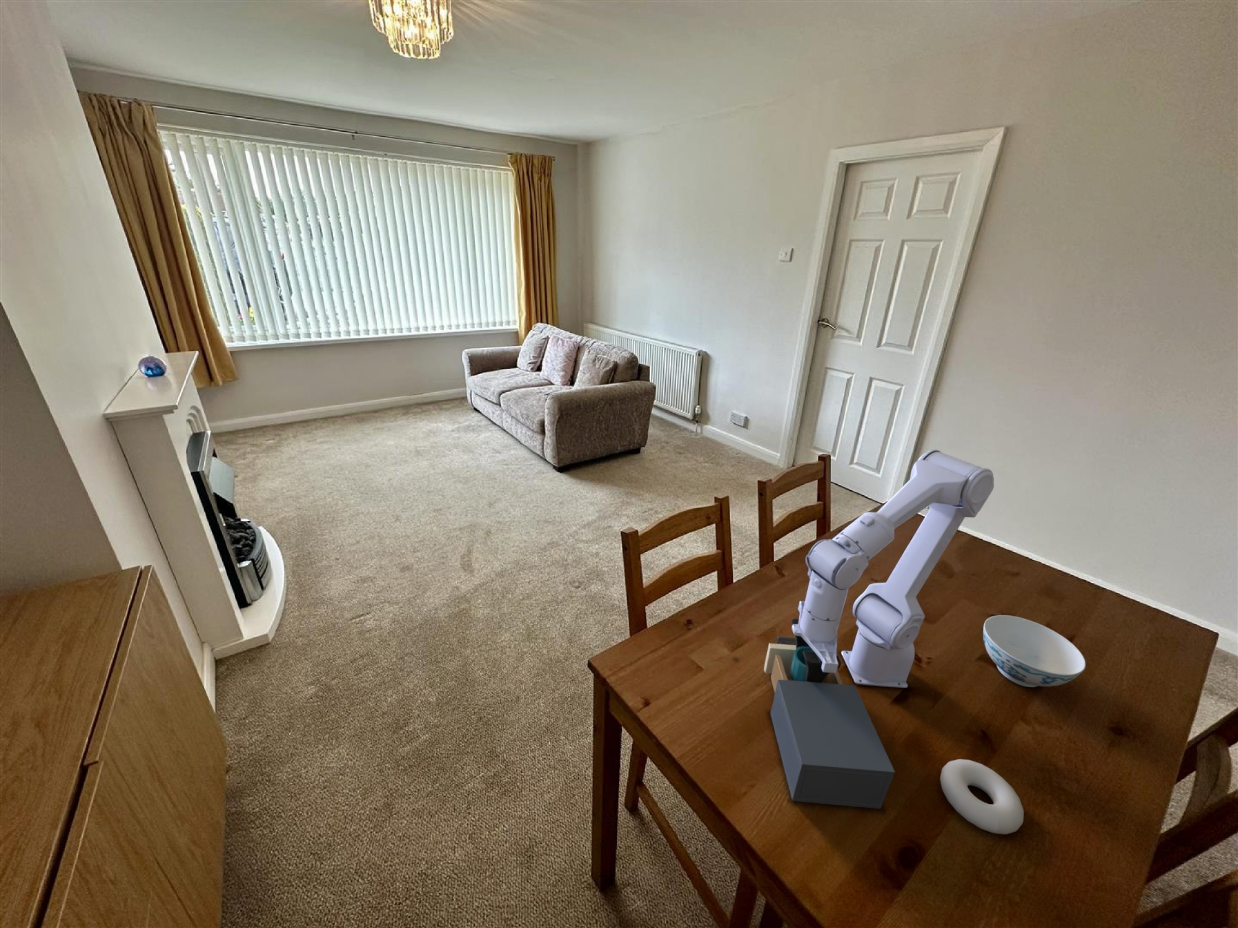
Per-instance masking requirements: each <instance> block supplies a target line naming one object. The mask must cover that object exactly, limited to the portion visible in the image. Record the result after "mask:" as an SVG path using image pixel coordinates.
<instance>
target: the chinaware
mask: <svg viewBox="0 0 1238 928" xmlns="http://www.w3.org/2000/svg"><path fill="white" fill-rule="evenodd" d="M982 638H983V639H982V640H983V644H984V647H985V649H986V652H987V654H988V655H989V657H990V659H991V660H992V662H993V663H994V664H995V665H996V668H997V669H998V671H999V672H1000V673H1001V674H1002V675H1003V676H1004V677H1005V678H1007V679H1008V680H1009V681H1011V682H1012V683H1015V684H1017V685H1020V686H1023V687H1028V688H1036V687H1056V686H1062V685H1064V684H1067V683H1069V682H1071V681H1073V680H1075V679H1076V678H1077V677H1079V676H1080V675H1081V674H1082V673H1083V672H1084V671H1085V669H1086V666H1087V665H1086V663H1087V662H1086V659H1085V657H1084V655H1083V654H1082V653H1081V651H1080V649H1078V648H1077V647H1076V646H1075V645H1074V644H1073V643H1072V642H1071V641H1070V640H1068V639H1067V638H1066V637H1065V636H1063V635H1061V634H1059V633H1058V632H1056V631H1055V630H1053V629H1051V628H1049V627H1047V626H1045V625H1043V624H1040V623H1038V622H1036V621H1032V620H1030V619H1027V618H1024V617H1019V616H1016V615H1015V616H1014V615H1008V614H1007V615H1005V614H1003V615H1002V614H999V615H993V616H990V617H988V618H987V619H986V620H985V621H984V624H983V630H982Z"/></svg>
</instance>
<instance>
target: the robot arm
mask: <svg viewBox="0 0 1238 928" xmlns="http://www.w3.org/2000/svg"><path fill="white" fill-rule="evenodd" d="M909 476H910V477H909V480H908V481H907V482H906V483H905V484H904V485H902V486H901V488H900V489H899V490H898V491H896V493H894V495H893V496H892V497H891V498H889V499H888V501H886V502H885V503H884V505H882V506H881V507H880V508H879V510H878V511H876V512H875V511H865V512H864V513H862V514H861V515H860V516H858V518H856V519H855V520H854V521H853V522H851V523H850V524H849V525H848V526H846V527H845V528H844V529H843V530H842V531H840V532H839V533H838V534H837V535H836V536H834V537H833V538H831V539H829V538H828V539H821V540H819V541H816V542H815V544H814V545H813V546H812V547H811V548H810V550H809V551H808V554H807V555H806V556H805V564H806V566H807V568H808V571H807V576H808V579H809V583H808V587H807V591H806V594H805V600H803V601H802V600H799V603H798V607H797V611H798V612H799V616H798V617H799V618H792V620H791V622H790V623H791V631H792V632H793V635H794V638H795V639H796V649H797V648H798V647H801V646H809V647H811V648H812V650H813V651H814V652H811V651H803V655H804V658H805V661H806V676H805V680H806V682H817V683H822V682H823V680H824V679H825V678H826V677H827V675H828V674H830V673H836V671H838V669H840V668H841V666H842V661H841V659H840V657H839V655H837V650H838V630H839V626H840V622H841V618H842V615H843V611H844V607H845V603H846V600H847V597H848V593H849V589H850V588H851V587H852V586H854V585H855V584H856V583H857V582H858V581H859V580H860V579H861V577H862V575H863V573H864V571H865V570H867V568H868V566H870V564H869V561H870V560H871V559H873V558H874V557H875V556H876V555H878V554H879V553H880V552H881V551H882V550H884V549H885V548H886V547H887V546H888V545H889V544H890V543H892V542H894V540H895V530H896V529H897V528H899V527H900V526H901V525H903V524H904V523H906V522H907V521H908V520H910V519H912V517H915V516H916V515H917V514H919V513H920V512H922V511H923V510H925V509H926V508H927V507H929V510H928V511H927V514H926V515H925V517H924V518H923V520H922V521H921V523H920V525H919V526H918V528H917V530H916V532H915V533H914V535H913V536H912V539H911V540H910V542H909V543H908V545H907V547H906V548H905V550H904V552H903V554H902V555H901V556H900V558H899V560H898V562H897V563H896V565H895V566H894V569H893V570H892V572H891V573H890V575H889V577H888V579H887V581H886V582H875V583H871V584H868V586H867V587H866V589H865V590H864V591H863V592H862V593H861V594H860V595H859V596H858V597H857V598H856V599H855V601H854V603H853V606H852V615H853V617H854V618H855V619H856V622H855V625H856V626H857V627H858V629H857V633H856V636H855V640H854V643H853V646H852V648H851V649H852V650H842V651H840V652H841V655H842V658H843V660H844V662H845V664H846V666H847V669H848V671H849V673H850V675H851V677H852V679H853V682H854V683H855V684H856V685H860V686H861V685H862V686H873V687H874V686H876V687H887V688H902V689H907V688H908V686H909V685H908V683H907V681H908V677H909V675H910V672H911V670H912V666H913V663H914V660H915V655H916V654H915V653H916V652H915V644H914V642H915V640H917V637H918V635H919V633H920V630H921V627H922V624H923V622H924V619H925V618H926V615H925V613H924V611H923V609H922V607H921V605H920V603H919V601H918V598H917V596H918V595H919V593H920V591H921V589H922V588H923V587H924V584H925V583H926V581H927V580H928V579H929V577H930V576H931V573H932V571H933V570H934V569H935V567H936V566H937V564H938V562H939V561H940V559H941V557H942V555H943V554H944V552H945V550H946V549H947V548H948V546H949V544H950V542H951V541H952V539H953V537H954V536H955V535H956V533H957V531H958V530H959V528H960V526H961V525H962V523H963V521H964V520H965V518H976V517H977V515H978V514H979V512H980V511H981V510H982V509H983V507H984V506H985V504H986V502H987V500H988V499H989V497H990V495H991V494H992V492H993V490H994V489H995V488H994V487H995V478H994V473H993V471H992V470H991V469H989V468H987V467H982V466H980V465H979V466H978V465H976V464H974V463H971V462H967V461H966V460H962V459H960V458H957V457H954V456H952V455H949V454H947V453H944V452H942V451H941V450H939V449H934V448H933V449H930V450H927V451H926V452H924V453H923V454H922V455H921V456H920V457H919V458H918V459H917V460H916V461H915V462H914V464H913V465H912V467H911V472H910V475H909Z"/></svg>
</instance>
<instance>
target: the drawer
mask: <svg viewBox="0 0 1238 928" xmlns="http://www.w3.org/2000/svg"><path fill="white" fill-rule="evenodd" d="M775 639H776V640H775V641H776V643H770V642H769V643H768V646H767V652H766V656H765V661H764V667H763V671H764V674H769V675H770V681H771V684H772V688H773V692H774V693H775V691H776V686H777V681H778V680H791V681H793V680H792V678H791V676H790V669H791V664H792V660H793V656H794V651H795V650H796V639H795V636H793V637H792V636H781V635H779V636H778V635H777V636H776V638H775ZM822 683H830V684H843V685H844V683H843V681H842V679H841V676H840V673H839V672H838V670H837V671H836V673H830V674H828V675H827V677H826V678H825V679H824V680H823V682H822Z"/></svg>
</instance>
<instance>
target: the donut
mask: <svg viewBox="0 0 1238 928" xmlns="http://www.w3.org/2000/svg"><path fill="white" fill-rule="evenodd" d="M939 781H940V785H941V790H942V792H943V794H944V796H945V798H946V800H947V802H948V803H949V804H950V805H951V806H952V807H953V809H954V810H955V811H956V812H957V813H958V814H959V815H960V816H961V817H963V818H964V819H965V820H966V821H967V822H969V823H971V824H972V825H974V826H976V827H977V828H979V829H980V830H982V831H983V830H984V831H985V832H989V833H992V834H998V835H1008V834H1012V833H1014V832H1017V831H1018V830H1019V829H1020V827H1021V826H1022V825H1023V823H1024V817H1025V816H1024V814H1025V811H1024V808H1023V805H1022V801H1021V799H1020V797H1019V796H1018V794H1017V793H1016V791H1015V789H1014V788H1013V787H1012V786H1011V785H1010V784H1009V783H1008V782H1007V781H1006V780H1005V779H1004V778H1003V776H1001V775H999V774H998V773H997V772H996V771H995V770H993V769H991V768H989V767H988V766H986V765H984V764H983V763H980V762H976V761H973V760H970V759H963V758H962V759H961V758H958V759H955V760H950V761H948V762H947V763H946V764H945V765H944V766H943V767H942V769H941V772H940V777H939ZM968 786H973V787H975V788H977V789H980V790H981V791H982V792H984V793H985V794H986V795H987V796H988V797H989V798H990V799H991V801H992V802H993V803H992V804H989V803H987V802H984V801H983V800H981V799H979V798H977V797H976V796H975V795H974V794H973V793H972V792H971V790H970V789H969V787H968Z"/></svg>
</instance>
